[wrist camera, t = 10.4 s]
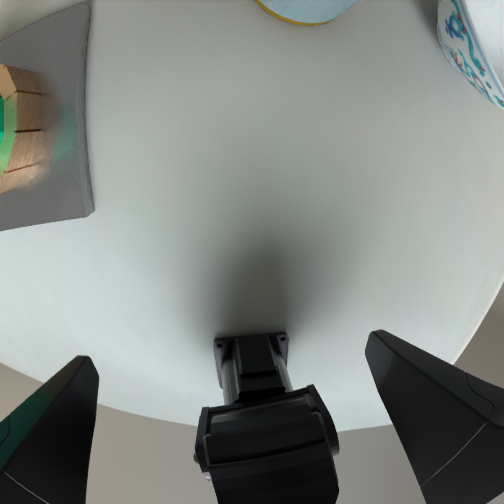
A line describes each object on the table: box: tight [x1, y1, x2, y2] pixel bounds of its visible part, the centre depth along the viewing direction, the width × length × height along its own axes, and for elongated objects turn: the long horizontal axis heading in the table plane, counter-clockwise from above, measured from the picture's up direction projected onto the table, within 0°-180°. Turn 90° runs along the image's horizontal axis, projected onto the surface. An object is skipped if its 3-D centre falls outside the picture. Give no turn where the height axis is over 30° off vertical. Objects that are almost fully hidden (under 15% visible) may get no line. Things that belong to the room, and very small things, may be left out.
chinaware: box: [437, 0, 504, 110], centre depth 12 cm, size 15×15×8 cm
